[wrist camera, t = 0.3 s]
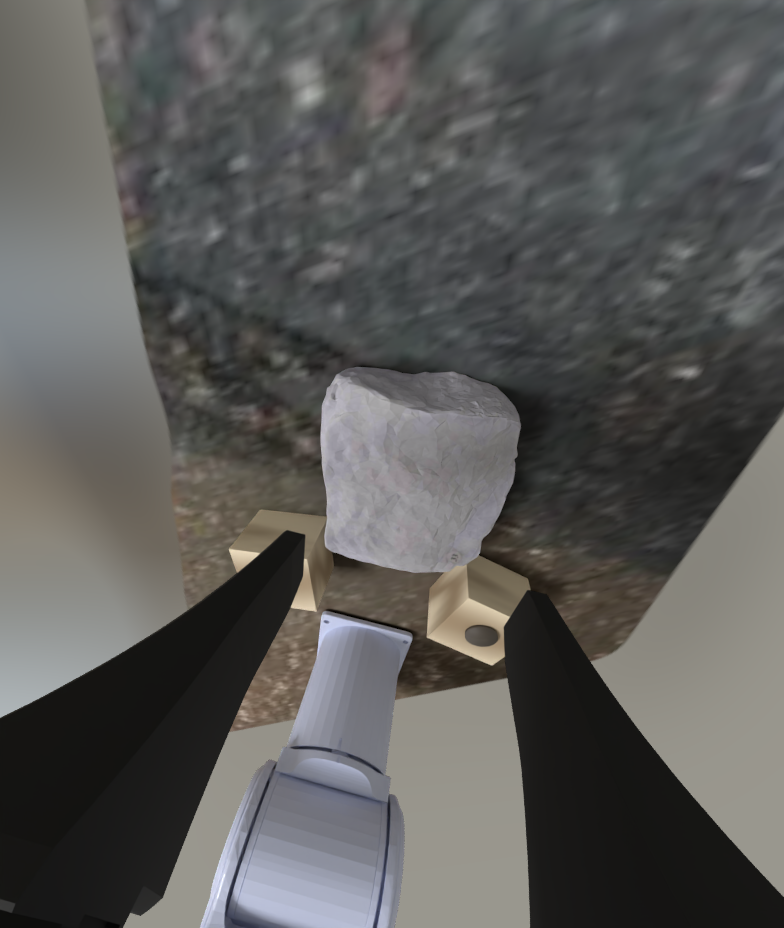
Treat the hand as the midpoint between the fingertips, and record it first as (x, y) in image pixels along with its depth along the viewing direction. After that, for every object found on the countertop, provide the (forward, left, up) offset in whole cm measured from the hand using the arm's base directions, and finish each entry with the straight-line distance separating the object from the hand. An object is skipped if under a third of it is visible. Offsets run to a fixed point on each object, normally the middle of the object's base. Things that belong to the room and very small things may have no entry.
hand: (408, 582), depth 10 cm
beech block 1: (-10, +7, -10) cm, 16 cm away
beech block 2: (-10, -6, -10) cm, 15 cm away
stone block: (-2, 0, -10) cm, 10 cm away
